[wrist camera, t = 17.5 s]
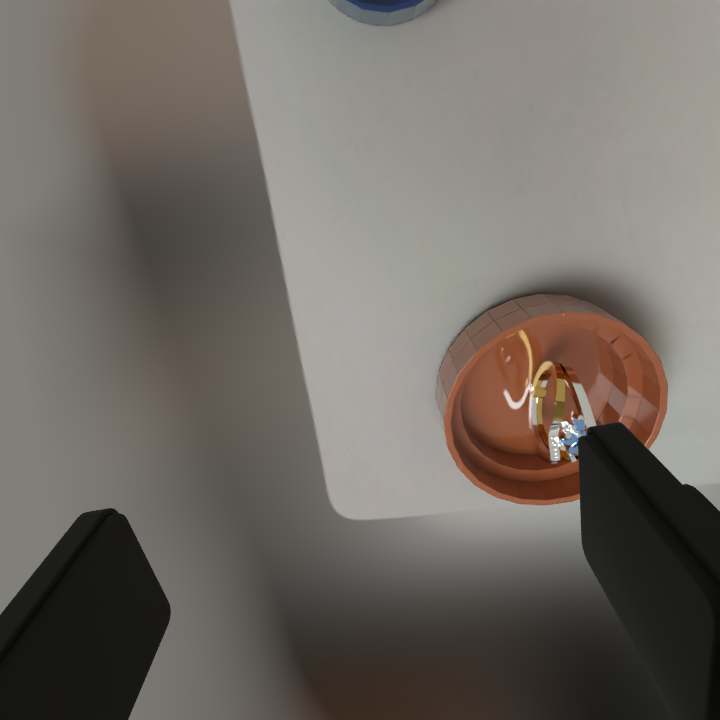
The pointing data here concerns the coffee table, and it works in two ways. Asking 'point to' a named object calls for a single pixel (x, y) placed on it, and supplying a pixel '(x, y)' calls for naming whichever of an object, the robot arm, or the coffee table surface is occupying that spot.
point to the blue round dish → (382, 10)
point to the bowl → (516, 374)
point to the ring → (558, 414)
